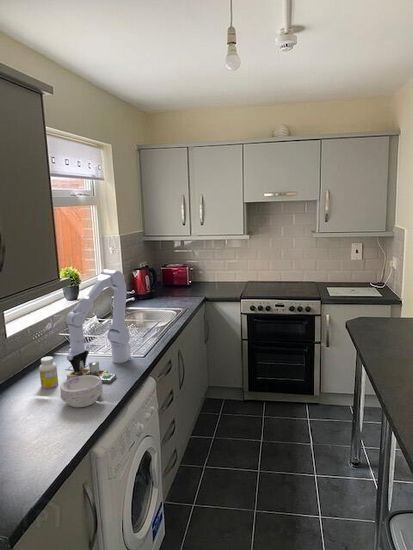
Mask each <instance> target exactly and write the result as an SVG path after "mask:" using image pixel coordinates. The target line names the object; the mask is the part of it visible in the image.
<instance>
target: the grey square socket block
mask: <svg viewBox="0 0 413 550" xmlns="http://www.w3.org/2000/svg"><path fill="white" fill-rule="evenodd" d="M105 374H106V373H104V374H103V375H105ZM109 374H110V378H109V379H108V378H104V376H103V375H102V376H101V377H100V378H101V380H102V384H111V383H112V382H113V381H115V379H117V373H109Z"/></svg>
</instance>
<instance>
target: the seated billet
mask: <svg viewBox="0 0 413 550" xmlns="http://www.w3.org/2000/svg"><path fill="white" fill-rule="evenodd" d="M88 366H89V369H90V375H92V376H97V377H98V376H99V375H100V370H101V369H100V362H99V361H91V362H89V365H88Z"/></svg>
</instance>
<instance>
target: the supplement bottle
mask: <svg viewBox="0 0 413 550" xmlns="http://www.w3.org/2000/svg"><path fill="white" fill-rule="evenodd" d="M40 363H41V364H40V365H39V379H40V387H41V389H43V390H51V389H55V388H57V387H58V386H59V378H58V367H57V364H56V362H55V361H54V357H53V356H44V357H42V358H40Z"/></svg>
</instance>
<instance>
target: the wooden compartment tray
mask: <svg viewBox="0 0 413 550" xmlns="http://www.w3.org/2000/svg"><path fill="white" fill-rule="evenodd" d="M99 370H100V375H99V376H98V377H99V378H100V377H101V376H102V375H103V374H104V373H106V374H109V372H108V369H99ZM85 375H90V368H84V374H83V375H75V373H74V370H71V371H70V372H69V373H68V374H67V375H66V379H67V380H69V379H71V378H74V377H78V376H85Z"/></svg>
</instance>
